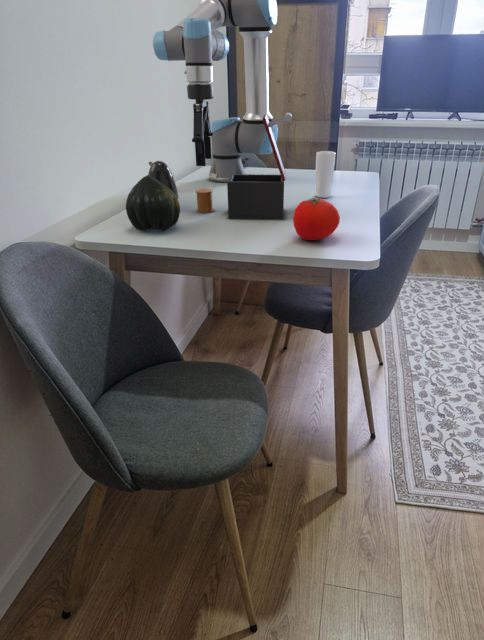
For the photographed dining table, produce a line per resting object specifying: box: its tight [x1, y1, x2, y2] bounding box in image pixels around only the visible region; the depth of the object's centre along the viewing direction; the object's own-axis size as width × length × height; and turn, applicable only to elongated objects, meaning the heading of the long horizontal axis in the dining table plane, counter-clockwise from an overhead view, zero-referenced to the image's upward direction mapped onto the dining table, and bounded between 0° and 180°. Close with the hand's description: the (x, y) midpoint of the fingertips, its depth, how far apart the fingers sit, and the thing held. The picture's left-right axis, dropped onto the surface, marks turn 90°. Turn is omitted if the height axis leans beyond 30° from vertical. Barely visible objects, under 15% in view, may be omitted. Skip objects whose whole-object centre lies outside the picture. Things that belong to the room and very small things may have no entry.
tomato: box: [292, 197, 341, 241], centre depth 127 cm, size 13×12×11 cm
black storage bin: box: [226, 173, 285, 220], centre depth 149 cm, size 17×12×11 cm
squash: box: [125, 174, 181, 232], centre depth 136 cm, size 14×15×15 cm
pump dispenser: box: [147, 160, 179, 199], centre depth 152 cm, size 10×10×15 cm
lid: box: [262, 112, 293, 182], centre depth 141 cm, size 18×12×8 cm
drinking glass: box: [315, 150, 336, 199], centre depth 169 cm, size 7×7×15 cm
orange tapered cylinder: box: [195, 188, 214, 214], centre depth 153 cm, size 5×5×6 cm
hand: (204, 162), depth 147 cm, fingers open, 13 cm apart
